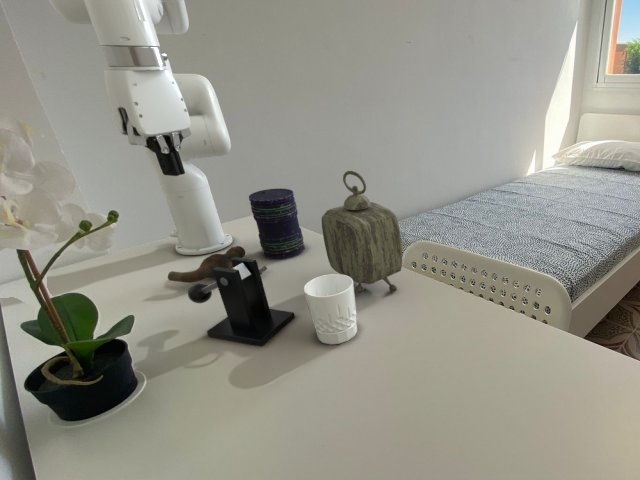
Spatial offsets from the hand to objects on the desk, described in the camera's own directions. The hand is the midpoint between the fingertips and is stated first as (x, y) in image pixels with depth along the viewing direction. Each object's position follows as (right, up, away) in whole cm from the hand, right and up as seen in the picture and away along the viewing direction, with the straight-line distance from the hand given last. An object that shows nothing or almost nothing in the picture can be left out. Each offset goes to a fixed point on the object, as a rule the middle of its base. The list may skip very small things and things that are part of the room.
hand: (174, 174), depth 74 cm
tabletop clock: (+31, -21, +14) cm, 40 cm away
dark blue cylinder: (+5, -13, +31) cm, 34 cm away
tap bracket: (+14, -28, +1) cm, 31 cm away
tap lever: (+10, -21, -1) cm, 23 cm away
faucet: (-1, -19, +19) cm, 27 cm away
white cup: (+30, -29, 0) cm, 41 cm away
